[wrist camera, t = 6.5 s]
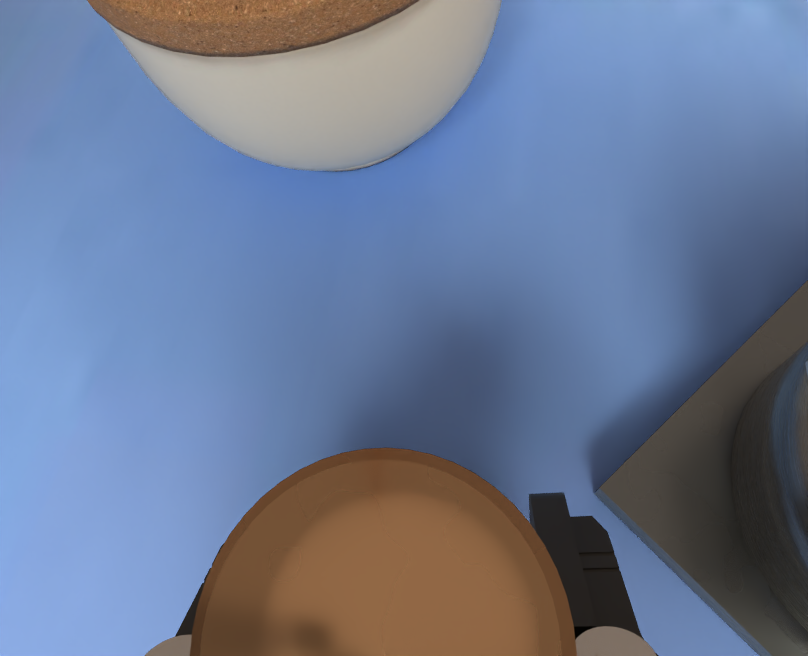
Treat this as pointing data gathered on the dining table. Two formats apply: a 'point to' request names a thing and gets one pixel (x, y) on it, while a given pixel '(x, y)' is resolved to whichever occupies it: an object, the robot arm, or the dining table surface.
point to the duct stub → (735, 487)
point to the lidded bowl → (308, 70)
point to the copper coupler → (383, 568)
